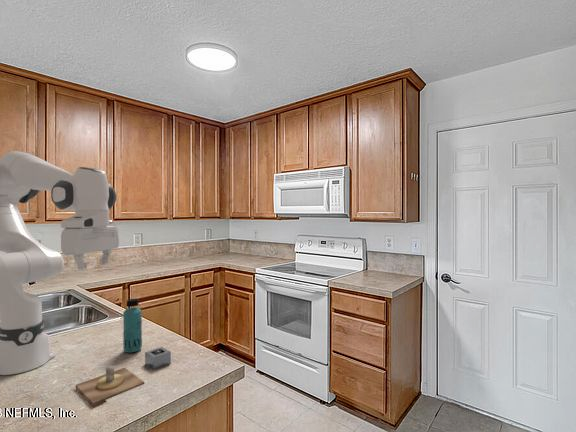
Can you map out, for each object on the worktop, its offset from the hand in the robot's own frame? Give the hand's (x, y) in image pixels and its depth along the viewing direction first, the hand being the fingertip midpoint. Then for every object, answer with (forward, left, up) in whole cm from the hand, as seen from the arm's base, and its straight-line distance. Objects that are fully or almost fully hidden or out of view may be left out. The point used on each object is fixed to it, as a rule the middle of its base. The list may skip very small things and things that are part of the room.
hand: (93, 266), depth 98 cm
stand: (+3, +18, -36) cm, 41 cm away
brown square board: (+5, +2, -36) cm, 37 cm away
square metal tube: (+3, +18, -35) cm, 40 cm away
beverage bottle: (-14, +17, -36) cm, 43 cm away
